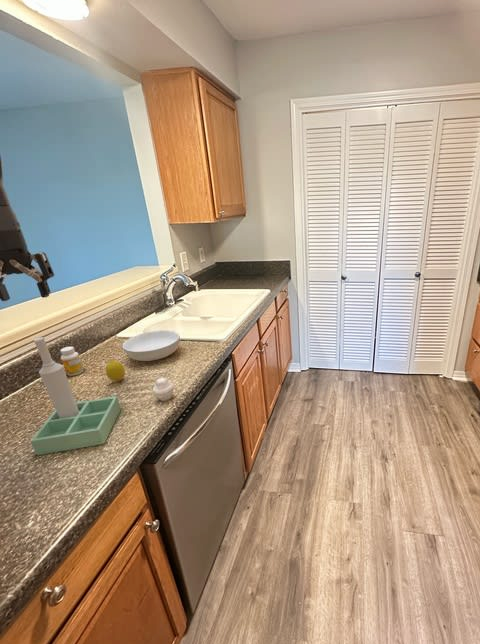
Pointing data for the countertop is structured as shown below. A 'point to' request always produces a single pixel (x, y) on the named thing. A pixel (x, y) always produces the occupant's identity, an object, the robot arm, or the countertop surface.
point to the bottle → (56, 383)
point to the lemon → (115, 370)
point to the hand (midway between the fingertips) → (26, 298)
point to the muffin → (163, 389)
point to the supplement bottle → (71, 361)
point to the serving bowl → (152, 345)
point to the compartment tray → (78, 427)
